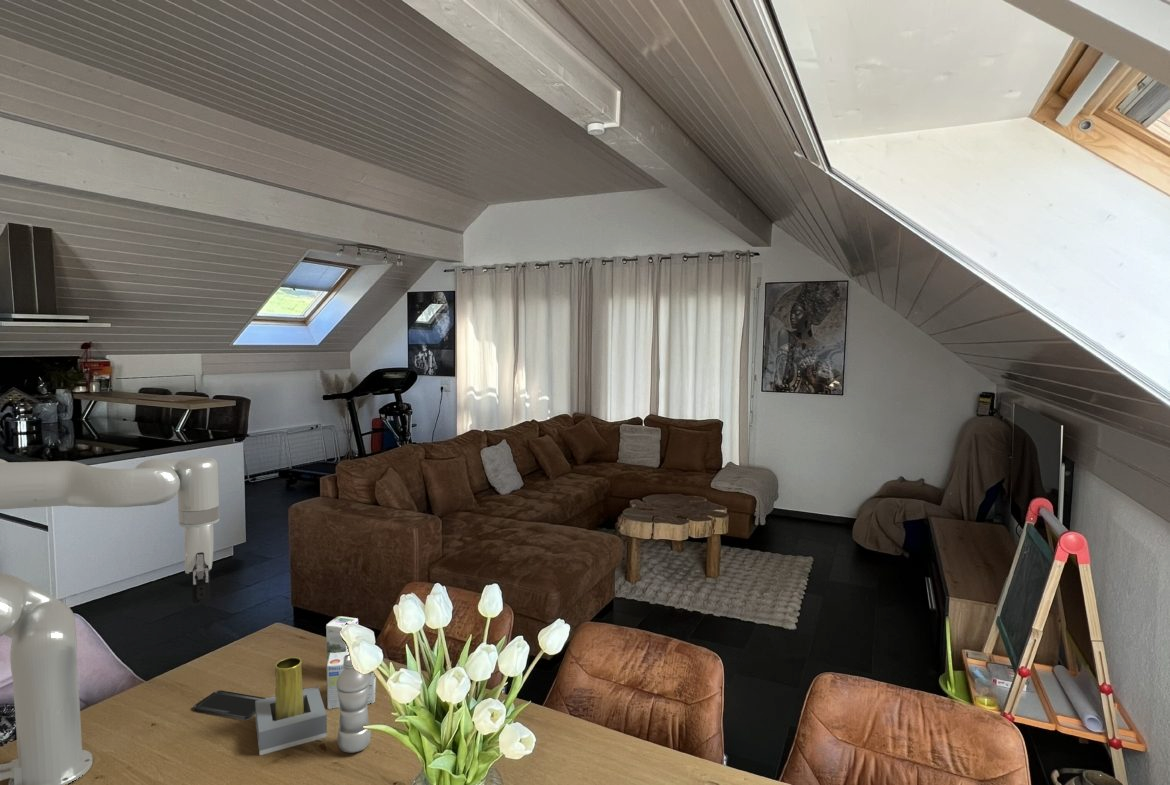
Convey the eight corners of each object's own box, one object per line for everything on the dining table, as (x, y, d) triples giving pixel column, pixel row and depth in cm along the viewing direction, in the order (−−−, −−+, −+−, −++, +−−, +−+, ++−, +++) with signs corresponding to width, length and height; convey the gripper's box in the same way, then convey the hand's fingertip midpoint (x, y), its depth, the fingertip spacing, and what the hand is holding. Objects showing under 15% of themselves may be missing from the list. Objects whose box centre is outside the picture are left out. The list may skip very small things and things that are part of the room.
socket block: (259, 755, 133) (259, 732, 133) (255, 722, 144) (255, 700, 144) (326, 736, 140) (326, 714, 139) (318, 706, 151) (317, 686, 151)
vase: (268, 726, 141) (267, 664, 140) (295, 713, 146) (293, 653, 145) (284, 737, 138) (282, 673, 136) (310, 723, 143) (309, 661, 141)
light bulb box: (376, 688, 159) (375, 646, 158) (375, 704, 153) (374, 660, 152) (329, 694, 156) (329, 651, 155) (326, 710, 150) (325, 665, 149)
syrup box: (359, 671, 167) (359, 617, 166) (346, 683, 161) (345, 627, 160) (340, 668, 168) (339, 614, 167) (326, 680, 162) (325, 624, 161)
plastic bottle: (368, 756, 134) (367, 663, 132) (334, 758, 133) (332, 665, 131) (373, 736, 140) (372, 648, 138) (340, 739, 139) (339, 649, 137)
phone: (217, 689, 156) (271, 698, 152) (217, 694, 156) (271, 703, 153) (190, 707, 148) (246, 717, 145) (190, 712, 148) (246, 722, 145)
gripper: (180, 507, 144) (182, 582, 146) (176, 528, 129) (179, 611, 131) (218, 504, 148) (221, 576, 149) (219, 523, 133) (222, 604, 134)
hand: (201, 593), depth 140 cm, fingers open, 9 cm apart
